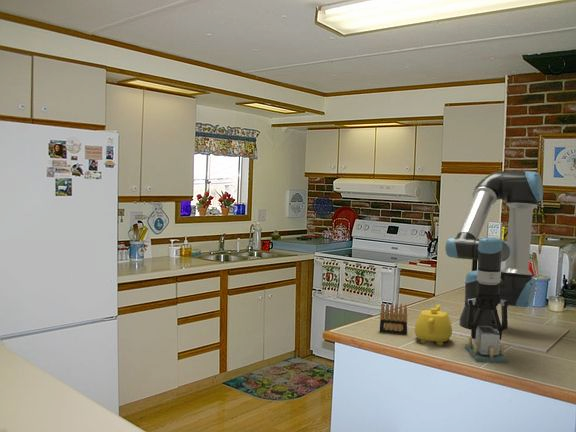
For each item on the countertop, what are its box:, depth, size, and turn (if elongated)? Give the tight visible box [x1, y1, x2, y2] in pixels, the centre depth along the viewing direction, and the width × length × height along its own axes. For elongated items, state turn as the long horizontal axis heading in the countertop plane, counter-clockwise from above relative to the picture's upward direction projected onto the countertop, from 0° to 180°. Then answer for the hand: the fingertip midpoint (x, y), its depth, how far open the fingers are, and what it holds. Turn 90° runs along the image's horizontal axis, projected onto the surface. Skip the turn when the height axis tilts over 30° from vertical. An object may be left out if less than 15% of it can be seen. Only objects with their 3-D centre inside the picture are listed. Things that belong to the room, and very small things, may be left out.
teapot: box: [414, 303, 453, 346], centre depth 203 cm, size 13×20×12 cm
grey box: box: [472, 326, 501, 355], centre depth 187 cm, size 11×6×7 cm, turn 173°
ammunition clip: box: [379, 301, 408, 336], centre depth 212 cm, size 11×2×12 cm, turn 74°
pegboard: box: [464, 337, 509, 364], centre depth 187 cm, size 15×10×5 cm
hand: (485, 348), depth 188 cm, fingers closed on grey box, 6 cm apart
